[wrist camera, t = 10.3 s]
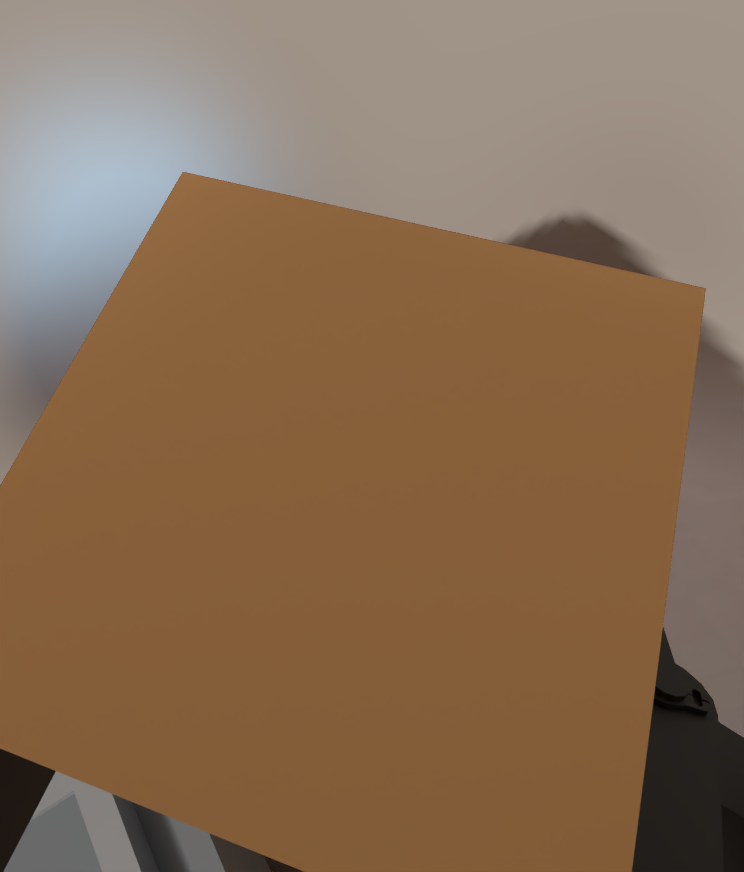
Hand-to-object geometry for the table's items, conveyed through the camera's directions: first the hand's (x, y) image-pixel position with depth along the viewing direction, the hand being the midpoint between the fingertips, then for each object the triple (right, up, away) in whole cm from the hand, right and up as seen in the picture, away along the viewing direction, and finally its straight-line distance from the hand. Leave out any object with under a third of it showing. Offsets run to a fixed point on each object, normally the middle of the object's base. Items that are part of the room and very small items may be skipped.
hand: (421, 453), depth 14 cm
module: (-1, -5, +3) cm, 6 cm away
